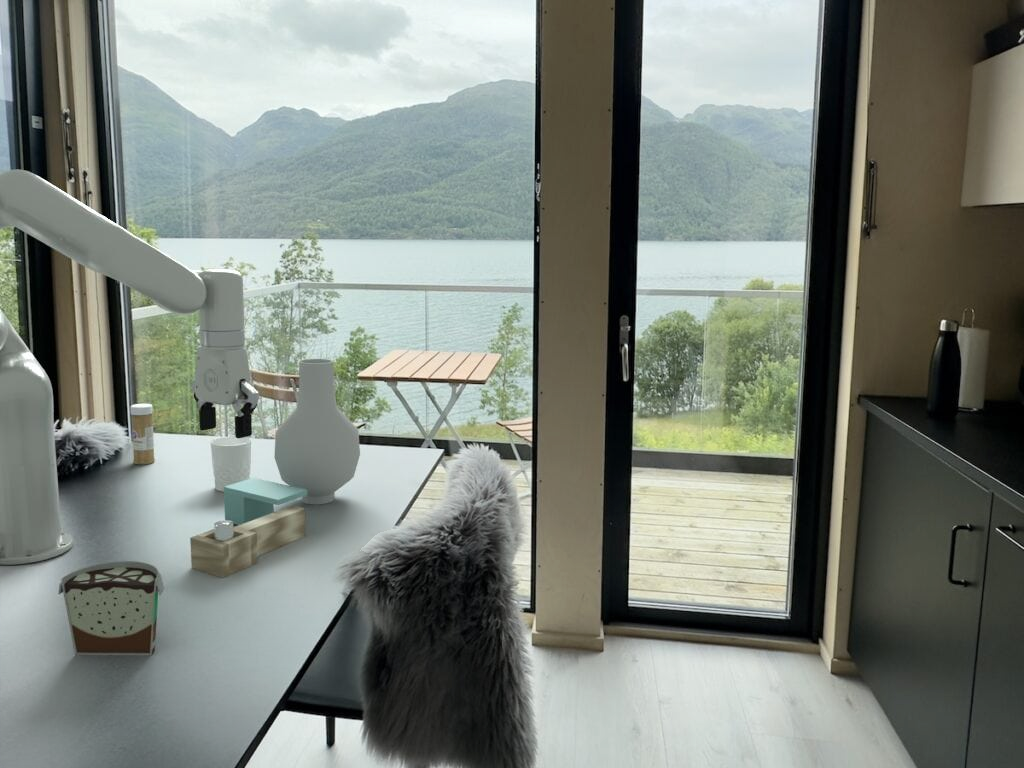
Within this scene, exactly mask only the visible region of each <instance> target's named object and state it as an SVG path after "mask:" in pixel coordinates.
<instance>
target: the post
mask: <svg viewBox="0 0 1024 768" xmlns="http://www.w3.org/2000/svg"><path fill="white" fill-rule="evenodd" d="M213 526H214V528H213V529H215V540H216V541H220V542H225V541H227V540H230V539H232V538H234V530H233V527H234V523H233V521H230V520H225V519H224V520H223V519H222V520H219V521H216V522H214V525H213Z"/></svg>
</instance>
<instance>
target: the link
mask: <svg viewBox="0 0 1024 768" xmlns="http://www.w3.org/2000/svg"><path fill="white" fill-rule="evenodd" d="M233 530H234V538H232V539H230V540H227V541H225V542H220V541H216V540H215V528H213V529H210V530H207V531H205V532H201V533H199V534H196V535H194V536H191V537H189V538H190V543H189V544H190V558H191V559H190V560H191V561H190V562H191V569H192V570H193V569H194V570H197V571H200V572H202V573H207V574H210V575H213V576H215V577H220V578H222V579H223V578H225V577H226V578H227V576H231V575H233V574H235V573H238V572H239V571H242V570H244V569H246V568H249V567H251V566H253V565H255V564H258V556H259V557H260V556H262V555H264V554H266V553H268V552H271V551H274V550H275V549H278V548H280V547H283V546H285V545H288V544H290V543H292V542H294V541H297V540H299V539H302V538H304V537H306V507H305V508H303V507H301V506H296V505H291V506H288V507H285V508H282V509H280V510H277V511H274V513H271V514H268V515H266V516H263V517H260V518H257V519H255V520H252V521H249V522H247V523H244V524H241V525H236V526H233Z"/></svg>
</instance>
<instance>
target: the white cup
mask: <svg viewBox="0 0 1024 768" xmlns="http://www.w3.org/2000/svg"><path fill="white" fill-rule="evenodd" d="M210 449H211V452H210V453H211V463H212V470H213V477H214V487H215V490H216V491H219V492H223V493H224V487H225V486H228V485H231V484H235V483H238V482H241V481H244V480H247V479H251V463H252V459H251V458H252V439H251V438H249V437H243V438H236V436H235V435H234V436H224V437H218V438H215V439H212V440H211V441H210Z"/></svg>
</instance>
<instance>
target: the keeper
mask: <svg viewBox="0 0 1024 768" xmlns="http://www.w3.org/2000/svg"><path fill="white" fill-rule="evenodd" d="M306 495H307V490H306V489H301V488H297V487H293V486H289V485H288V484H283V483H279V482H275V481H270V480H266V479H262V478H258V477H250V479H247V480H244V481H241V482H238V483H235V484H231V485H228V486H225V487H224V492H223V497H224V498H223V499H224V500H223V503H224V520H230V521H233V525H234V524H235V525H237V526H239V525H241V524H244V523H247V522H249V521H252V520H255V519H257V518H260V517H263V516H266V515H268V514H271V513H274V512H275V511H274V505H276V506H280V505H283V504H286V503H290V502H291V501H295V500H298V499H301V498H302V497H303V496H306Z"/></svg>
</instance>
